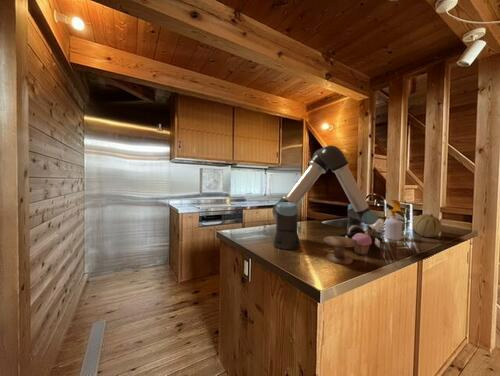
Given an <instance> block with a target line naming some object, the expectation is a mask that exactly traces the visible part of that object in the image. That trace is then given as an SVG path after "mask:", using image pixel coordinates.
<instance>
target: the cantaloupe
mask: <svg viewBox="0 0 500 376" xmlns="http://www.w3.org/2000/svg"><path fill="white" fill-rule="evenodd" d="M442 226H443V225H442V222H441V220H440V219H439V218H438V217H437V216H435V215H434V214H420V215H418V216H416V217H415V218H414V220H413V222H412V228H413V230H414V231H415V233H416V234H418V235H419V236H421V237H425V238H434V237H436V236H439V234H441V232H442V229H443V228H442Z"/></svg>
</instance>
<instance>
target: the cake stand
mask: <svg viewBox="0 0 500 376" xmlns="http://www.w3.org/2000/svg"><path fill="white" fill-rule="evenodd" d="M322 239H323V243H324V244H327V245H329V246H333V248H334V249H333V251H334V252H333V253H330V252H329V253H327V254H326V260H327V261H328V262H331V263H332V264H337V265H351V264H353V263H354V262H353V261H354V259H353V257H352V256H350V255H348V254H346V248H352V247H353V248H354V246H356V245H357V241H356V240H353V239H351V238H346V237H339V235H337V236H336V235H335V236H334V235H330V236H325V237H323V238H322Z"/></svg>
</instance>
